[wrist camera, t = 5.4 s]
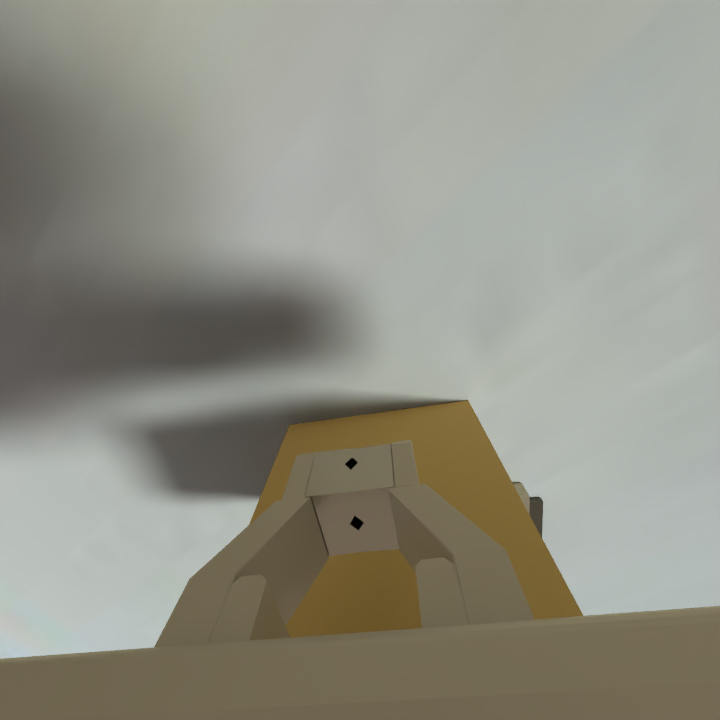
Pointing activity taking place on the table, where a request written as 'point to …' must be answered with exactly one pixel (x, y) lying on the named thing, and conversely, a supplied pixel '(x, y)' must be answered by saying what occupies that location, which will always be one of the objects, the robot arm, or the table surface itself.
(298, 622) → the mustard block
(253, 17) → the table surface
